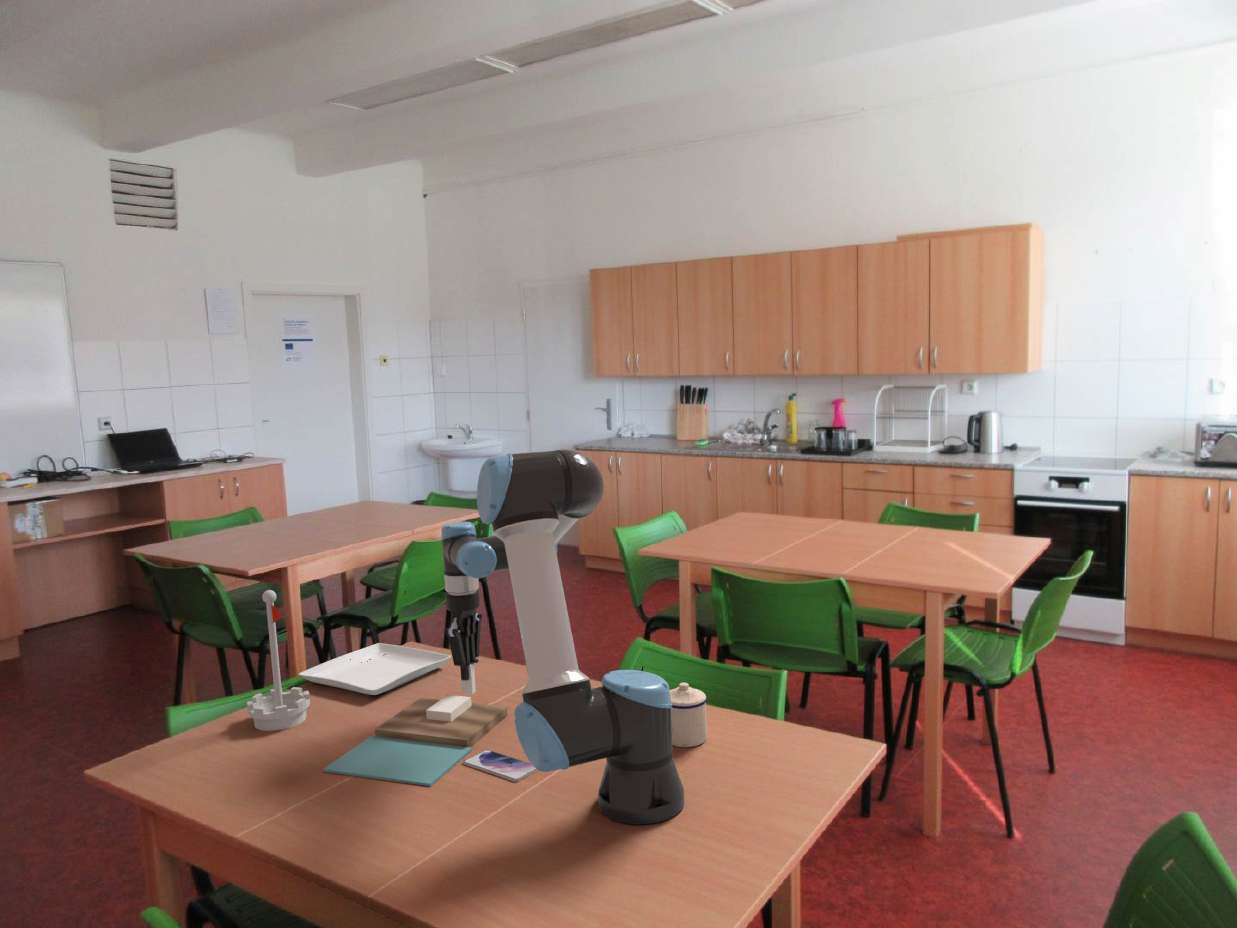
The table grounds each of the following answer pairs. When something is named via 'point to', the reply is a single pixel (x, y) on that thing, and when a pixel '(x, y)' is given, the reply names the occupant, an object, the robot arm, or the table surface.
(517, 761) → the smartphone
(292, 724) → the flag stand
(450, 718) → the ceramic tile
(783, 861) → the table surface
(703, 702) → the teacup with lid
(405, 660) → the square plate
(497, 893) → the table surface
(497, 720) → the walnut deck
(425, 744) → the teal mat
